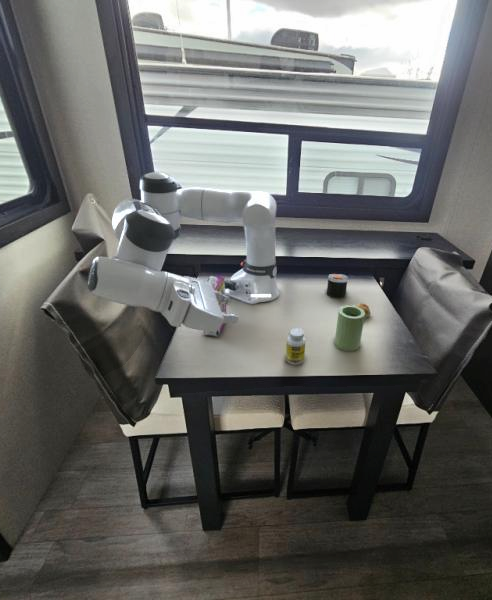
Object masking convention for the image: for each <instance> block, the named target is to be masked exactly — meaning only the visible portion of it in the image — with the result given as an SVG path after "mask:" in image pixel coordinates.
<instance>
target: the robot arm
mask: <svg viewBox="0 0 492 600" xmlns="http://www.w3.org/2000/svg"><path fill="white" fill-rule="evenodd" d="M139 190H140V199H136V198H126V199H124V200H121V201H120V202H119V203H118V204H117V205H116V206H115V208H114V210H113V213H112V218H111V228H112V232H113V235H114V236H115V238H116V239H117V240H118V242H119V243H118V245H117V249H116V252H115V255H113V256H112V257H109V256H96V257H95V258H94V259H93V260H92V261H91V265H90V268H89V272H88V278H87V289H88V291H89V293H90V294H92V295H94V296H96V297H98V298H101V299H103V300H106V301H110V302H113V303H117V304H120V305H125V306H128V307H129V306H130V307H143V308H146V309H149V310H151V311H153V312H157V313H160V314H161V316H163V317H164V318H165V320H167V322H168V323H169V325H170V326H172V327H175V328H180V327H182V325H183V326H184V327H186V328H188V329H192V330H196V331H203V332H204V331H207V332H216V331H219V329H220V327H221V325H222V324H224V325H225V324H228V323H229V324H230V323H231V324H238V322H239V319H240V317H239V315H238V313H234V312H230V313H226V314H225V313H224V312H221V309H220V306H219V303H218V301H220V302H222V304H226V306H229V305H230V304H231V302H232V300H231V298H233V299H236V300H239V301H242V302H245V303H246V304H249V305H255V304H258V303H265V302H270V301H273V300H276V299H277V298H278V297H279V296H280V291H279V289H278V283H277V272H278V268H277V267H278V265H277V260H276V255H277V254H276V251H277V250H276V249H277V248H276V247H277V240H276V239H277V238H276V217H277V210H278V207H277V201H276V200H275V198H274V197H273V196H272V195H271V194H270V193H268V192H267V191H254V190H252V191H251V190H223V189H215V188H207V187H182V185H181V184H180V183H179V182H177V181H176V179H174V178H173V177H172V176H170V175H169V174H166V173H164V172H163V173H162V172H159V171H158V172H157V171H153V172H148V173H144V174H143V175H142V176H141V177H140V178H139ZM181 217H185V218H188V219H192V220H197V221H204V222H211V223H212V222H213V223H223V224H231V223H241V222H243V230H244V231H243V232H244V238H245V249H246V251H245V253H246V258H245V259H244V260H243V261H242V262H241V263H240V267H242V268H241V269H239V270H237V271H236V272H235V273H234V274H232V275H231V276H230V278H229V279H226V280H225V279H224V280H225V295H223V294H221V293H219V292H218V291H215V290H213V287H212V284H211V283H210V282H208V281H207V280H205V279H201V278H197V277H193V276H183V275H179V274H175V273H172V272H168V271H165V270H162V268H163V266H164V263H165V260H166V257H167V255H168V252H169V249H170V247H171V245H172V243H173V242H174V241H175V240H176V239H178V238H179V237H180V235H181V230H182V229H181V228H182V226H181Z"/></svg>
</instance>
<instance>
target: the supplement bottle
mask: <svg viewBox="0 0 492 600" xmlns="http://www.w3.org/2000/svg"><path fill="white" fill-rule="evenodd" d="M304 336H305V332H304V330H303V329H301V328H300V327H299V328H297V327H295V328H291V329H290V330H289V336H287V338H286V350H285V360H286V362H287V363H289V364H290V365H300V364H302V363H303V362H304V360H305V352H306V341H307V339H306V337H304Z"/></svg>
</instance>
